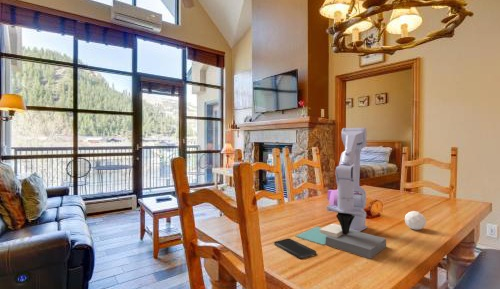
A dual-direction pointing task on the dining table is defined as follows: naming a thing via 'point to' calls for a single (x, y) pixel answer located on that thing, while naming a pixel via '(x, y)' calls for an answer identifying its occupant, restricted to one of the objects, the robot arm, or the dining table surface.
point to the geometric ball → (415, 220)
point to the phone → (295, 248)
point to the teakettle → (333, 197)
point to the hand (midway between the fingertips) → (345, 233)
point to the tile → (332, 230)
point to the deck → (358, 243)
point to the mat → (313, 236)
